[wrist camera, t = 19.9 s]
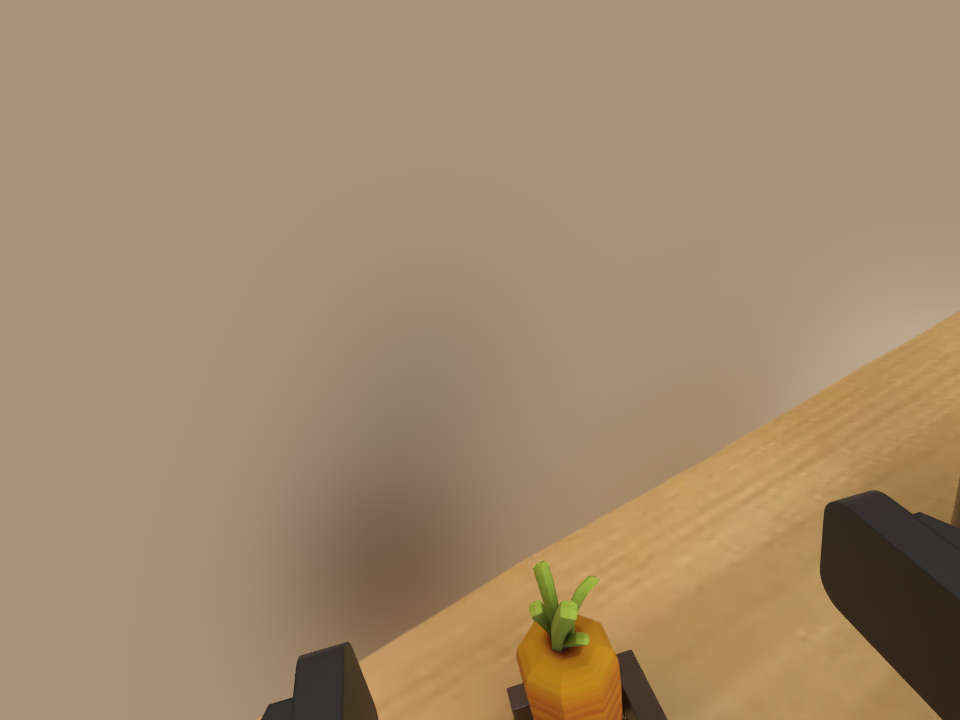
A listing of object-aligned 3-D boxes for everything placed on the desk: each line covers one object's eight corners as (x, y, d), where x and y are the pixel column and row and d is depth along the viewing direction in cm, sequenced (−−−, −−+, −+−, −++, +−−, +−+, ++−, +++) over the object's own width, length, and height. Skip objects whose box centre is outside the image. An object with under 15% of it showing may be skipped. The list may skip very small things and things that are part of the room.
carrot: (548, 735, 36) (507, 544, 30) (633, 742, 35) (609, 544, 29) (539, 828, 32) (489, 628, 26) (636, 840, 31) (608, 632, 24)
